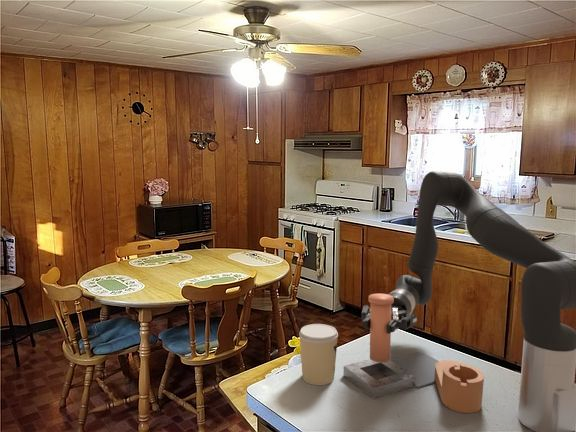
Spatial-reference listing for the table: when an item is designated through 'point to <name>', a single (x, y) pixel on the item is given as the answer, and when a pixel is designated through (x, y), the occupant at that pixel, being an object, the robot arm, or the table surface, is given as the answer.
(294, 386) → the table surface
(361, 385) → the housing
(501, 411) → the table surface
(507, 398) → the table surface
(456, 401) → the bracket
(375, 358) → the orange flanged cylinder
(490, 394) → the table surface
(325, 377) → the coffee cup
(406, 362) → the mat
